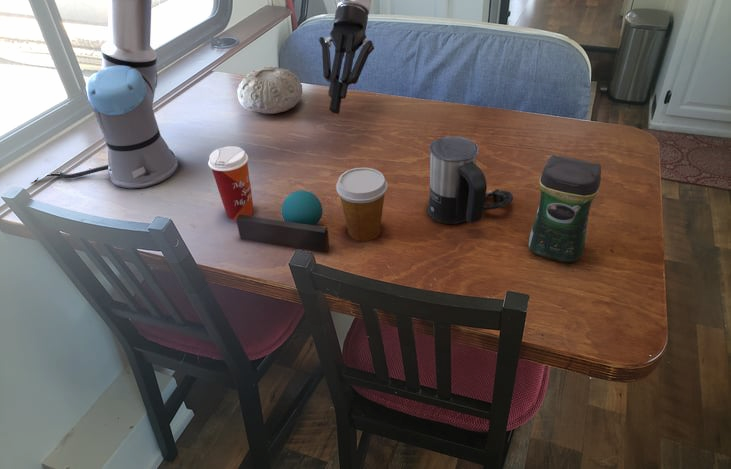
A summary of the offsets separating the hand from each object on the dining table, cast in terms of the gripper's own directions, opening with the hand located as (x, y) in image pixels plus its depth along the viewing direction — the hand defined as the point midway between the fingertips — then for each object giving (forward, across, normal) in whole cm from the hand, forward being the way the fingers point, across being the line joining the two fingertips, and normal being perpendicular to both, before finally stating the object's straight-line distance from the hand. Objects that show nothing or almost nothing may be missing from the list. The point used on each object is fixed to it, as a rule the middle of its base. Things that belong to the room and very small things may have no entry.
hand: (334, 111), depth 122 cm
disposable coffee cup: (+27, +14, -10) cm, 32 cm away
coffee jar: (+25, +50, -8) cm, 56 cm away
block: (+32, 0, -15) cm, 35 cm away
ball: (+25, +2, -14) cm, 29 cm away
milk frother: (+18, +33, -1) cm, 38 cm away
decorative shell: (-7, -27, +24) cm, 37 cm away
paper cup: (+27, -13, -10) cm, 31 cm away
